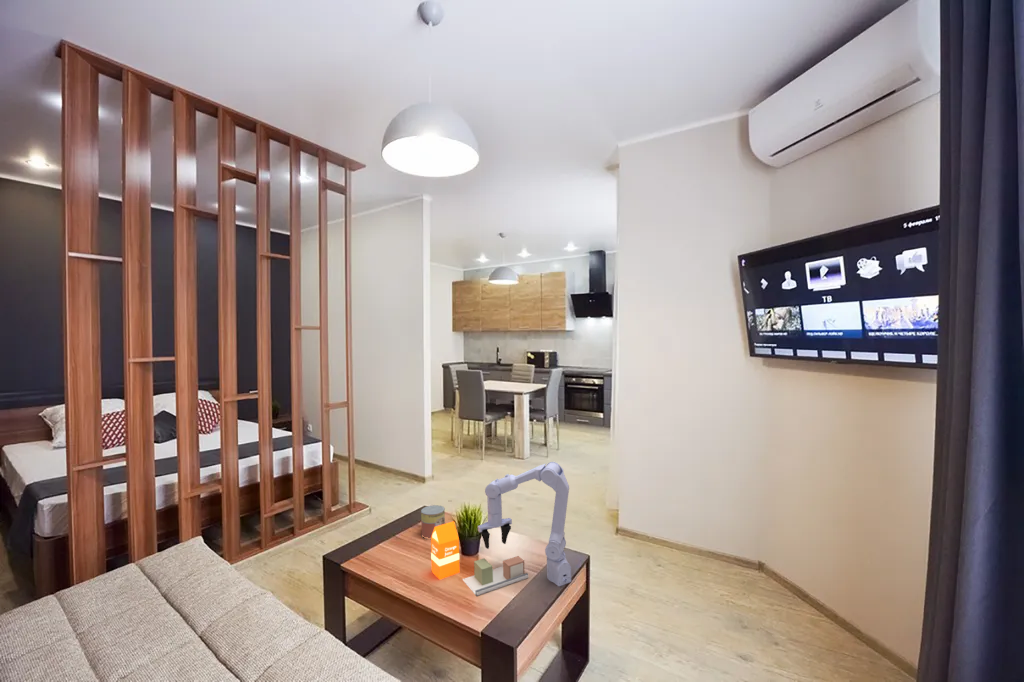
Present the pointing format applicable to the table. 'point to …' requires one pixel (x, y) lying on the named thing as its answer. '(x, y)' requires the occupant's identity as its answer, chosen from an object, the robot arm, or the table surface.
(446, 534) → the orange juice
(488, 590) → the shelf board
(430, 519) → the canned food
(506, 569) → the tea box rust
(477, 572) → the tea box olive
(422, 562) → the table surface
